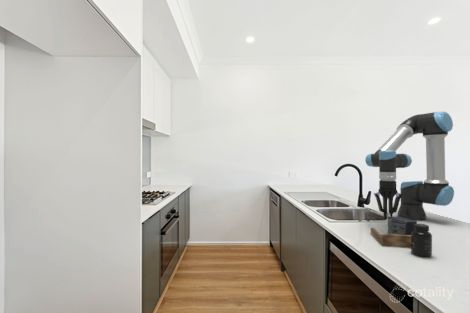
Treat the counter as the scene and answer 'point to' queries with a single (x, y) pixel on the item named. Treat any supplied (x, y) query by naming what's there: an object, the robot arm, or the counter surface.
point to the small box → (400, 225)
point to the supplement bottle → (421, 241)
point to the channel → (392, 239)
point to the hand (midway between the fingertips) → (387, 225)
